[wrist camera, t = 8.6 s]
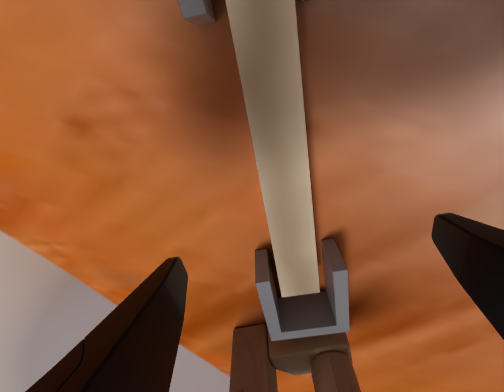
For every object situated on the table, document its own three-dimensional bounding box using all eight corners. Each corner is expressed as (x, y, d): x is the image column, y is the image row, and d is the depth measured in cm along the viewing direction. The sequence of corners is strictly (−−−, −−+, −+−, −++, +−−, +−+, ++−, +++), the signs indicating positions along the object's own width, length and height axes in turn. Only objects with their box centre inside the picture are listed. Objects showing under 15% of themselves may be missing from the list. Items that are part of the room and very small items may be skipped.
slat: (278, -70, 12) (286, -104, 10) (311, 265, 23) (319, 292, 20) (217, -55, 13) (209, -84, 10) (278, 269, 23) (281, 297, 20)
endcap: (268, 305, 25) (271, 341, 22) (254, 250, 21) (255, 283, 18) (337, 296, 24) (349, 331, 21) (333, 238, 21) (347, 269, 18)
